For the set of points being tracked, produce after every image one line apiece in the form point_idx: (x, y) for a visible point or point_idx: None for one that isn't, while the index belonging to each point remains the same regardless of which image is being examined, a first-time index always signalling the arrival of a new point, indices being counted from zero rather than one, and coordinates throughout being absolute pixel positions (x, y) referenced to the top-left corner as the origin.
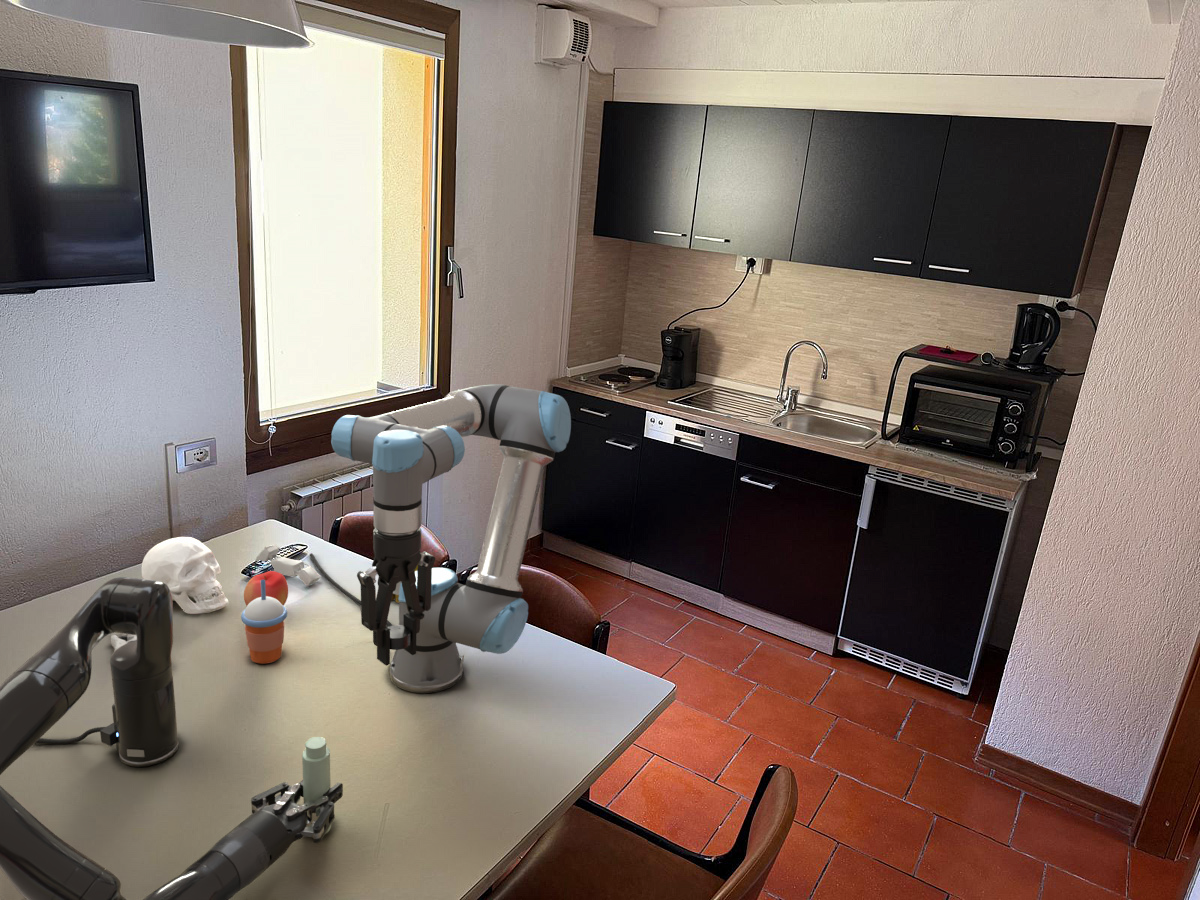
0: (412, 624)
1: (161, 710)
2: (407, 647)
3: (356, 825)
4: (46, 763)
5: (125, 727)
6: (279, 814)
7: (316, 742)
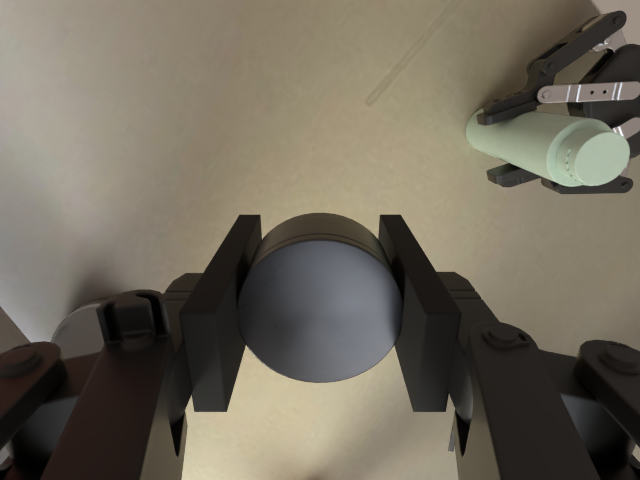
0: (222, 298)
1: None
2: None
3: (439, 89)
4: None
5: None
6: (630, 113)
7: (600, 158)
